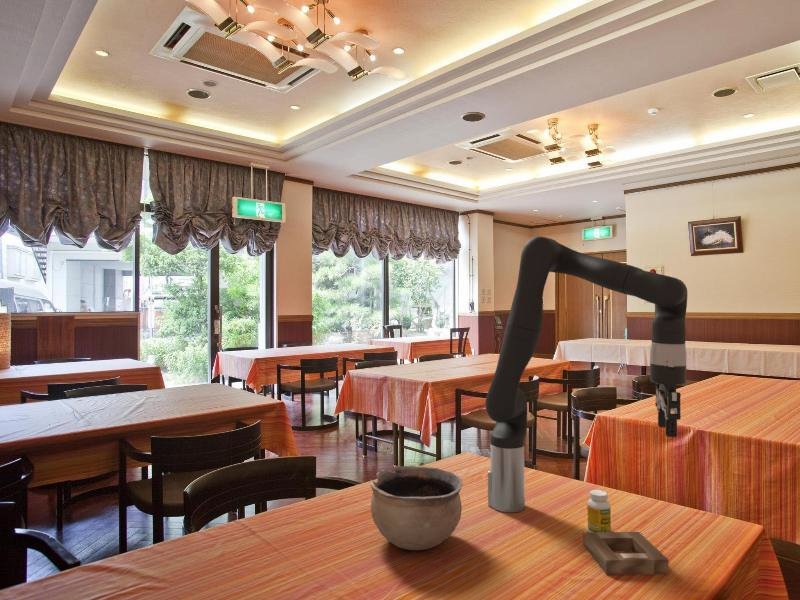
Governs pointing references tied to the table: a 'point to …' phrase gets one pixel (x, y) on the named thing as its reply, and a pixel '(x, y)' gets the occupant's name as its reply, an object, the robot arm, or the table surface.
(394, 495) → the ceramic bowl
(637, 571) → the socket holder
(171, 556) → the table surface
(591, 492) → the supplement bottle
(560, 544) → the table surface
